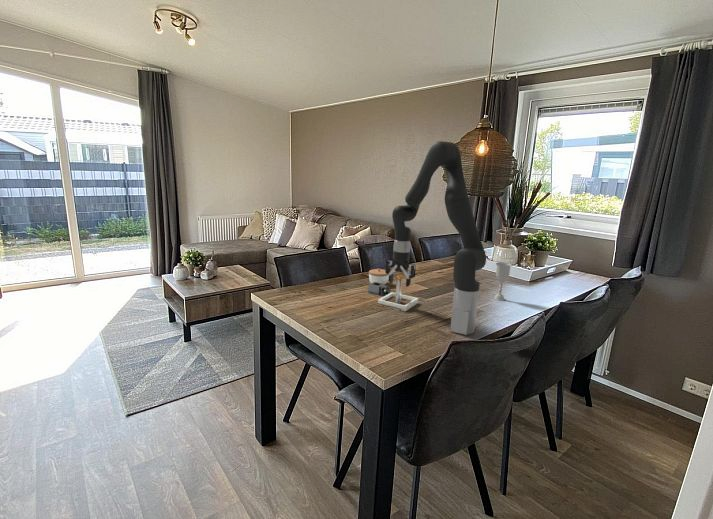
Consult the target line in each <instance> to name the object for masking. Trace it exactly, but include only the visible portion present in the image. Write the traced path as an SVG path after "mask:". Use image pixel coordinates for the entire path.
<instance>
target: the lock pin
mask: <svg viewBox="0 0 713 519" xmlns="http://www.w3.org/2000/svg"><path fill="white" fill-rule="evenodd" d="M395 278H396V285H395V286H396V288H395V293H396V297H395V301H394V303H397V304H400V303H401V300H402V298H401V294H402V287H403V286H402V285H403V279H404V275H400V274H397V275H395Z"/></svg>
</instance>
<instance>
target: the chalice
mask: <svg viewBox="0 0 713 519" xmlns="http://www.w3.org/2000/svg"><path fill="white" fill-rule="evenodd" d="M495 264H496V268H495V275H496V278H497V281H498V282H499V288H498V293H497V294H495V296H494V298H493V300H495V301H498V300H499V302H500V301H501V302H503V301H505V297H504V294H503V293H502V291H503V289H502V288H503V283H505V282H506V281H507V280H508V278H509V276H510V272H511V268H512V265H513V264H511V263H507V262H496V263H495Z"/></svg>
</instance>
